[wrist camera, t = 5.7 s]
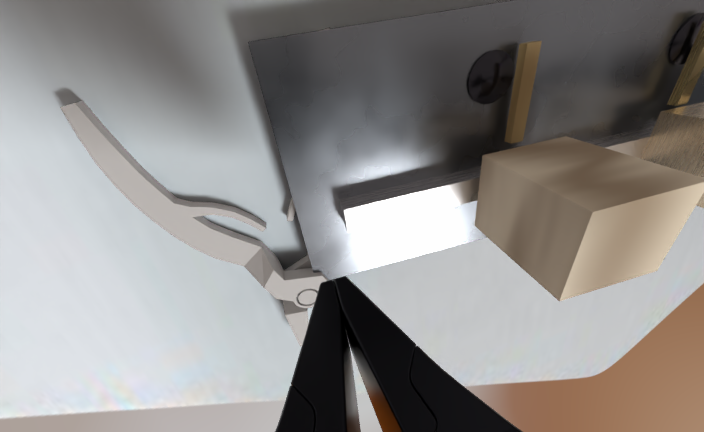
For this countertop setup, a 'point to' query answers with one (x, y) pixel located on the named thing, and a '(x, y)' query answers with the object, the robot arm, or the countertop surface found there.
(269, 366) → the countertop surface
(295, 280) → the pliers
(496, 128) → the plate
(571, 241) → the block
